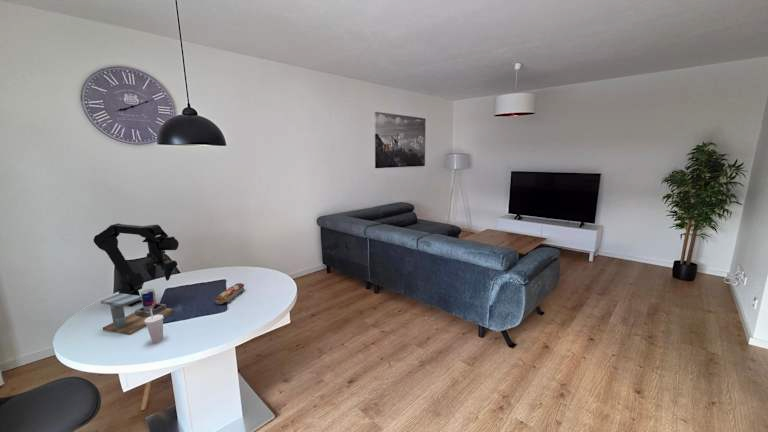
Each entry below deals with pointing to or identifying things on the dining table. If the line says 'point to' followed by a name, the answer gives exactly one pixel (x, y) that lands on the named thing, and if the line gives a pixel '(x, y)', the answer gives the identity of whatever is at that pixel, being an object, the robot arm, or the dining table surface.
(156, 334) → the smoothie
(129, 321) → the socket board
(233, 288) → the pencil case
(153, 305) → the energy drink
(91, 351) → the dining table surface
